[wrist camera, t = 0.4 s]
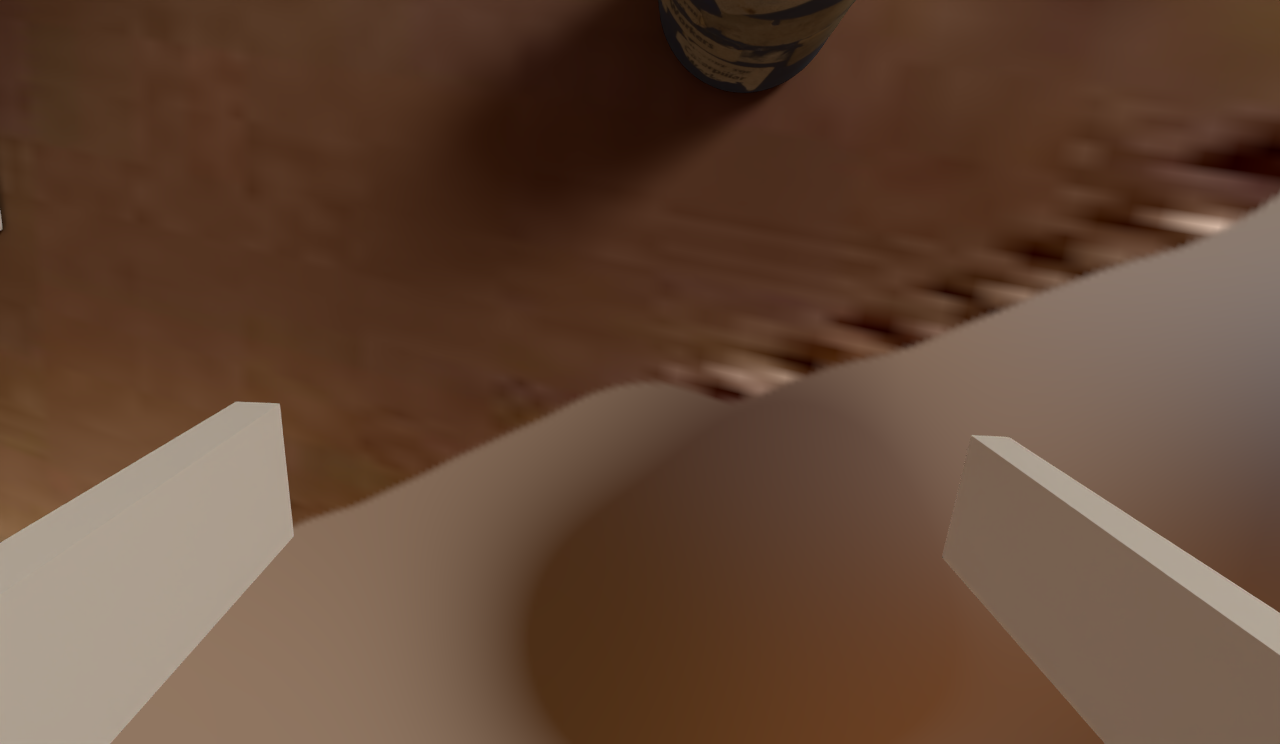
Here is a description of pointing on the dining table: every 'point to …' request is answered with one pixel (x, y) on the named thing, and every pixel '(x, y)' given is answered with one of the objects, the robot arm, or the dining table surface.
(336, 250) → the dining table surface
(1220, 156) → the dining table surface
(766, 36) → the canister
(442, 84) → the dining table surface
